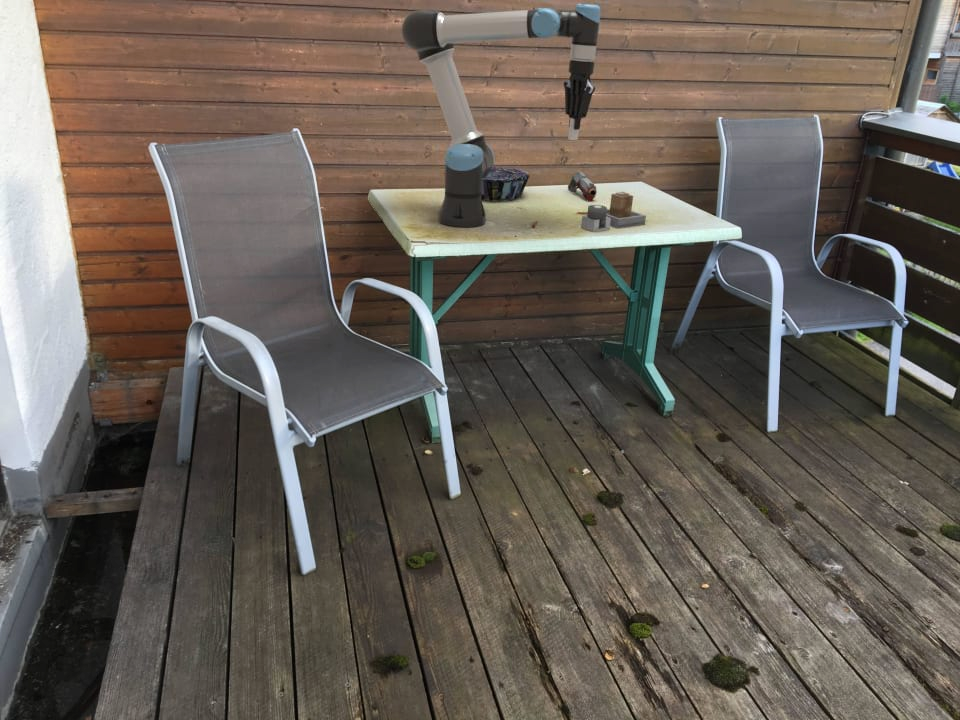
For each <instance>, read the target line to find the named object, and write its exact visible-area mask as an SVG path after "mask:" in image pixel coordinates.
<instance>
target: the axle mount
mask: <svg viewBox="0 0 960 720" xmlns="http://www.w3.org/2000/svg"><path fill="white" fill-rule="evenodd" d="M610 221H611V218H609V217H606V218H604V219H593V218H589V217H588V216H587V215H582V216H581V226H580V227H581V229H583V230H586V229H587V231H589V230H590V232H592V233H596V232H595V231H597V232H603V231H602V230H604V231H609V230H611V226H610Z"/></svg>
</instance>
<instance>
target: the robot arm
mask: <svg viewBox="0 0 960 720" xmlns="http://www.w3.org/2000/svg"><path fill="white" fill-rule="evenodd" d="M600 19H601V7H600V6H599V5H597V4H586V3H585V4H584V3H577V4H576V5H575V8H574V9H573V10H568V9H559V8H549V7H543V8H542V7H538V8H536V9H529V10H528V9H525V10H523V9H522V10H508V11H507V10H506V11H497V12H495V11H494V12H493V11H491V12H480V13H464V14H462V13H461V14H451V15H445V14H444V13H443V12H441V11H437V10H435V9H425V10H424V9H423V10H421V9H419V10H418V9H417V10H415V11H412V12H410V13H408V14H407V16H406V17H405V18H404V19H403V21H402V25H401V36H402V40H403V42H404V43H405V44H406V46H407V47H408V48H409V49H410V50H411V49H412V50H413V51H415V52H416V54H417V57H418V59H419V63H422V64H424V65H425V66H426V68H427V70H428V71H427V72H428V73H429V76H430V80H431V82H432V85H433V88H434V91H435V94H436V97H437V100H438V103H439V105H440V108H441V111H442V114H443V117H444V120H445V123H446V126H447V129H448V132H449V135H450V137H451V142H450V144H449V147H448V148H447V149H446V152H445V158H444V162H445V170H444V174H445V175H444V177H445V178H444V179H445V180H444V198H443V202H442V203H441V207H440V210H439V213H438V222H440V224H443V225H446V226H449V227H457V228H473V227H480V226H483V225H485V224H486V216H487V215H486V211H485V208H484V204H483V200H481V190H482V179H483V178H485V177H486V176H487V175H488V174H489V173H490V171H491V170H492V167H494V163H495V156H494V152H493V150H492V148H491V147H490V146H489V145H488V144H487V141H486V139H485V136H484V134H483V132H480V131H479V130H477V127H476V123H475V120H474V117H473V115H472V111H471V109H470V106H469V103H468V99H467V96H466V94H465V91H464V88H463V86H462V85H463V84H462V83H461V80H460V76H459V73H458V69H457V67H456V64H455V62H454V59H453V55H454V51H455V46H454V44H460V43H461V44H462V43H474V42H490V41H493V42H495V41H507V40H524V39H525V40H526V39H549V38H552V37H559V38H571V45H570V46H571V47H570V53H569V54H570V55H569V58H571V59H570V60H569V63H568V73H570V75H569V79H568V80H567V81H564V82H563V87H564V88H563V89H564V99H565V100H564V101H565V102H564V103H565V106H564V107H565V108H564V109H565V114H566V115H568V117H569V120H568V123H569V124H568V136H567V140H570V141H578V139H579V132H580V128H581V122H582V119H584V118H586V117H587V115H588V110H589V108H590V104H591V101H592V98H593V97H592V96H593V94H594V92H595V91H596V87H595V86H593V85H592V84H591V76H592V75H593V74H594V69H595V62H594V60H595V59H596V51H597V43H598V37H599V30H600V23H601V22H600Z"/></svg>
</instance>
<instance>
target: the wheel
mask: <svg viewBox="0 0 960 720" xmlns="http://www.w3.org/2000/svg"><path fill="white" fill-rule="evenodd" d="M607 209H608V208H607V207H606V206H604V205H601V204H591V205H590V204H589V205H588V206H587V213H586V214H587V216H588V217H589V218H593V219H604V218H606V213H607Z"/></svg>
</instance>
